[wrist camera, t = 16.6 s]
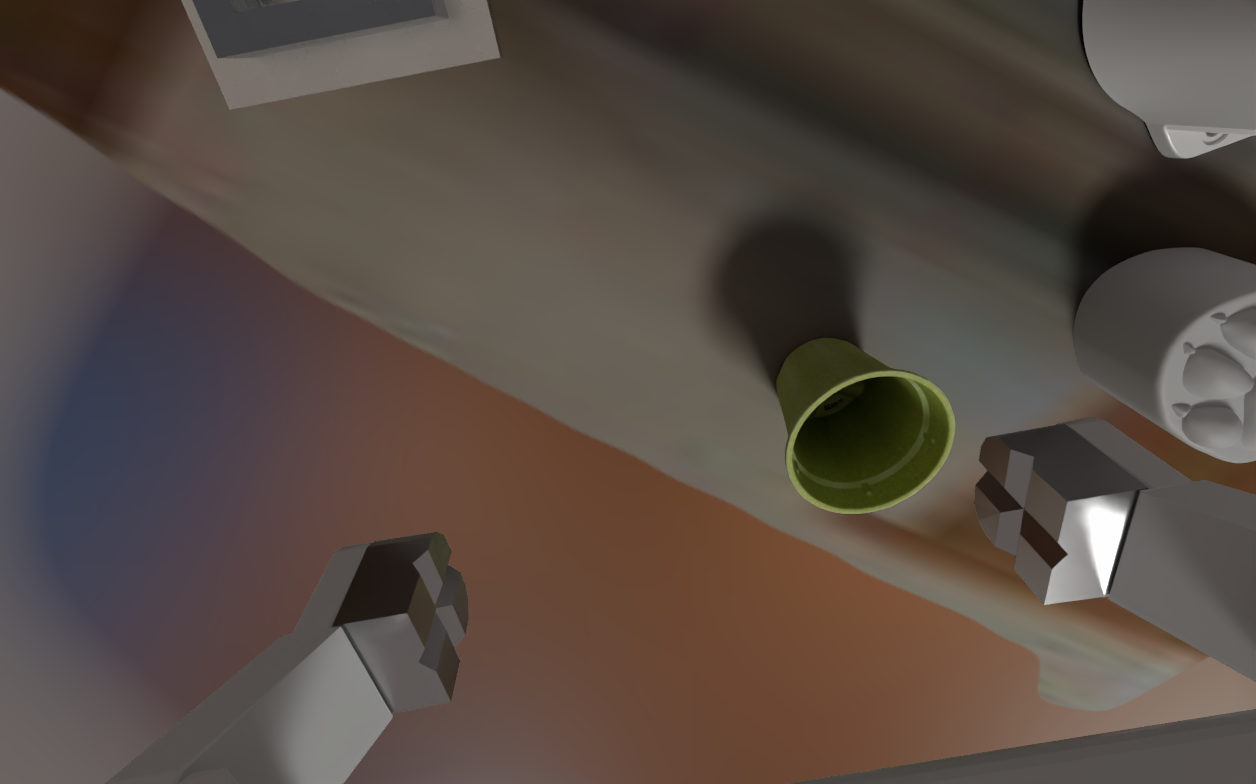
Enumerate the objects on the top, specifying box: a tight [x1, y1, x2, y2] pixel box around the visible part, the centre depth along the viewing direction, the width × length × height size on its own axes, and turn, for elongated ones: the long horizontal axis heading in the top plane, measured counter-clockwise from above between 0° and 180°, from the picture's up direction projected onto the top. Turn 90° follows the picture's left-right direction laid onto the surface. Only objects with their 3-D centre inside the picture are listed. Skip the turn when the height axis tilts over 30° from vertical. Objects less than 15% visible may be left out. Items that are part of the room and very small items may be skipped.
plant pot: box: [776, 338, 955, 514], centre depth 38 cm, size 9×9×9 cm
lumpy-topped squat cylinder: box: [1073, 247, 1256, 463], centre depth 38 cm, size 10×13×9 cm
